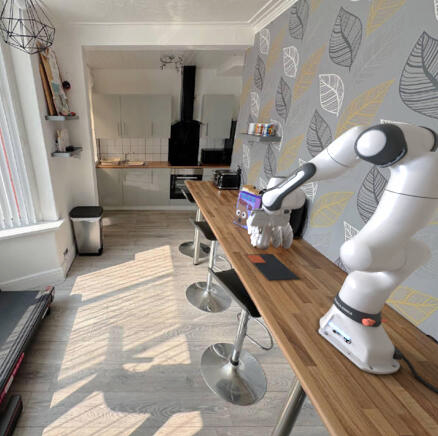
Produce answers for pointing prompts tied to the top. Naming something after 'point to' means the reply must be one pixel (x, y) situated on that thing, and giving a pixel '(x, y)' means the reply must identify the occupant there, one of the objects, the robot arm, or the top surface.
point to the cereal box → (246, 207)
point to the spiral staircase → (274, 236)
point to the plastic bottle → (265, 234)
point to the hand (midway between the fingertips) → (264, 233)
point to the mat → (272, 267)
